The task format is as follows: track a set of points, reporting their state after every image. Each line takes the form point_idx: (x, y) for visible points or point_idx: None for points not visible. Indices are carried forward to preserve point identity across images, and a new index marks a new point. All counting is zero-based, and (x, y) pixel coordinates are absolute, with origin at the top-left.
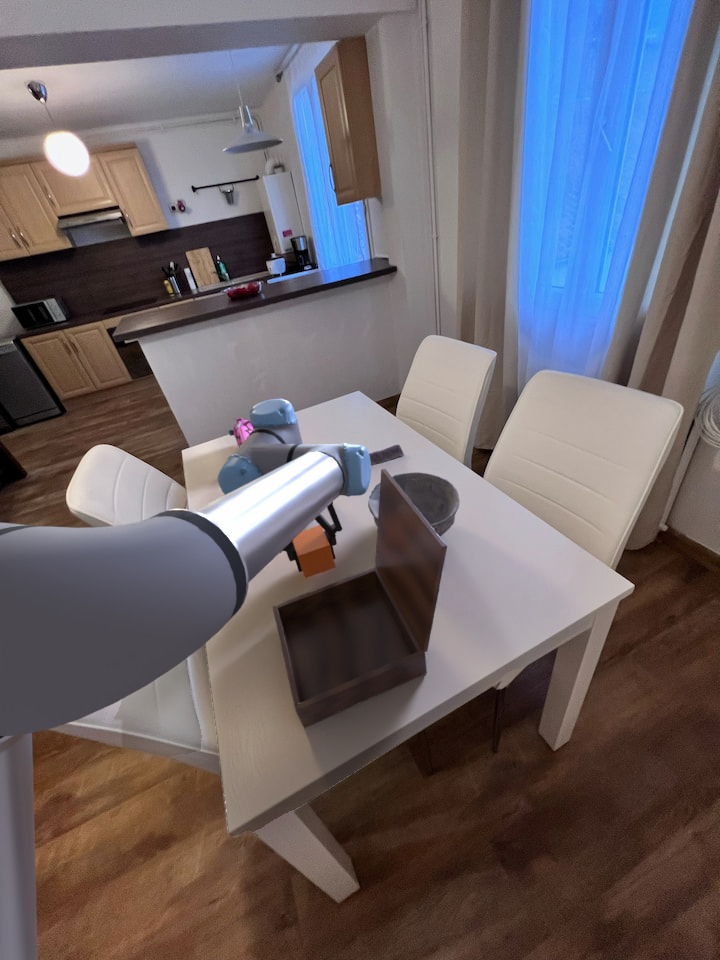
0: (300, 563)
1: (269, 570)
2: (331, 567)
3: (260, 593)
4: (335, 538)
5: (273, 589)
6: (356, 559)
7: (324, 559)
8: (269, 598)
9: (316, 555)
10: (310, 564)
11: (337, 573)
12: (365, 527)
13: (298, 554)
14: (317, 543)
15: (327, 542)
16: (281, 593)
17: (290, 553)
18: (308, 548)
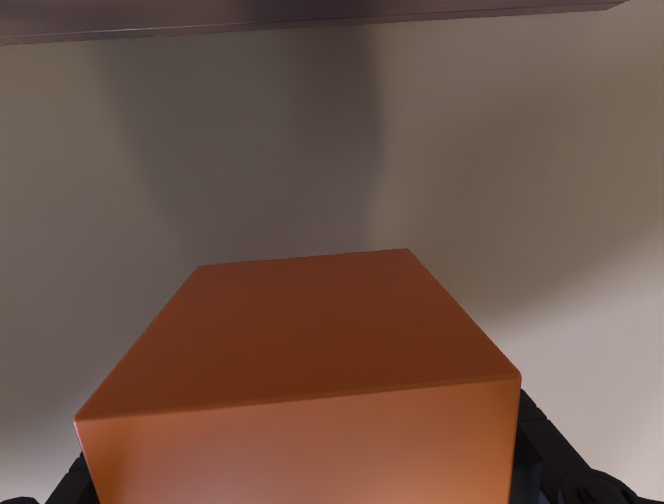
0: (462, 311)
1: (545, 391)
2: (222, 267)
3: (628, 270)
4: (58, 486)
5: (563, 271)
6: (86, 307)
7: (236, 305)
8: (598, 221)
9: (291, 342)
10: (364, 295)
11: (212, 249)
12: (13, 495)
13: (502, 399)
14: (237, 486)
15: (101, 464)
16: (534, 230)
17: (536, 446)
18: (362, 448)
